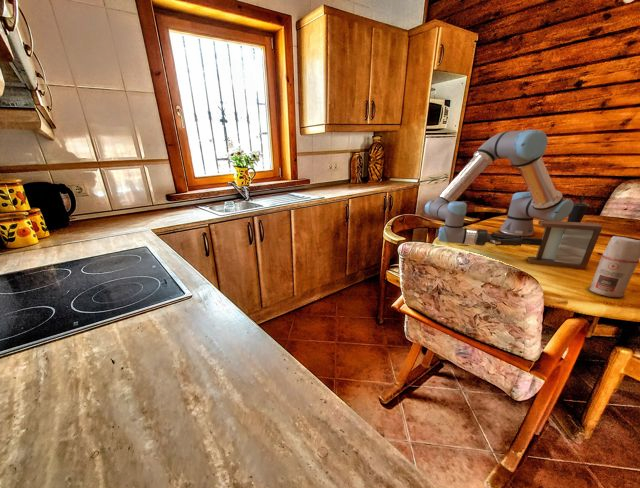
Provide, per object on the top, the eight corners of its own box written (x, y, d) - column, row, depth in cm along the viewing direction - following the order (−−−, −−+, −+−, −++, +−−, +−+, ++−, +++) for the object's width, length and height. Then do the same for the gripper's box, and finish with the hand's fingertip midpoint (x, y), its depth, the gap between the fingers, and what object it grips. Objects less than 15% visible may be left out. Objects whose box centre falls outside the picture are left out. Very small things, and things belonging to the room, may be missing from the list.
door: (535, 256, 122) (546, 225, 116) (562, 259, 118) (574, 226, 113) (536, 258, 121) (547, 226, 115) (563, 260, 117) (576, 227, 111)
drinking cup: (573, 225, 165) (585, 191, 157) (584, 229, 158) (598, 194, 150) (559, 226, 166) (570, 192, 158) (569, 229, 159) (582, 194, 151)
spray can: (580, 287, 100) (602, 234, 92) (601, 286, 100) (625, 233, 92) (607, 299, 92) (634, 242, 84) (630, 297, 92) (658, 240, 84)
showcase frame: (526, 259, 124) (538, 220, 117) (580, 264, 117) (596, 223, 110) (529, 263, 120) (542, 223, 113) (585, 269, 113) (603, 226, 106)
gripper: (472, 240, 135) (533, 245, 125) (475, 249, 125) (542, 255, 115) (475, 225, 132) (538, 229, 122) (479, 233, 122) (548, 238, 112)
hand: (540, 242), depth 119 cm, fingers closed
